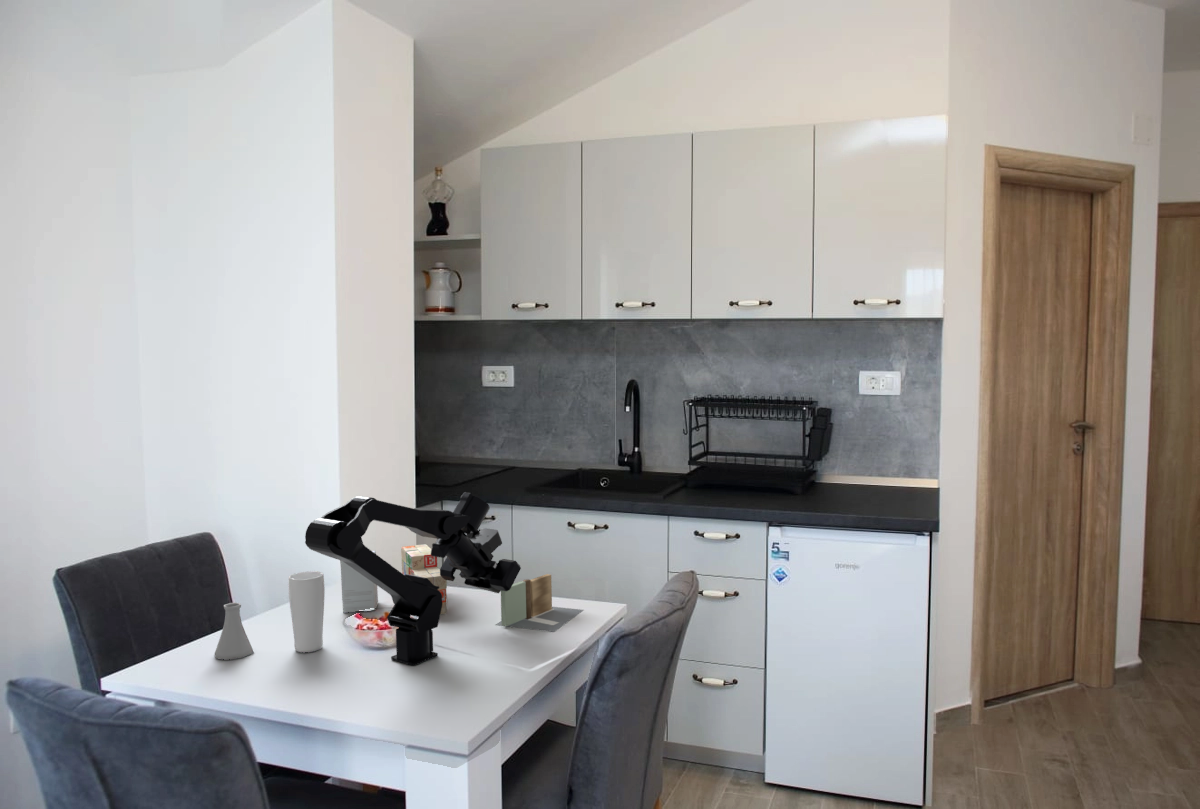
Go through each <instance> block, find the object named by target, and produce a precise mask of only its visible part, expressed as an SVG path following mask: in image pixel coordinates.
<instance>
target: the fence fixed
mask: <svg viewBox="0 0 1200 809" xmlns="http://www.w3.org/2000/svg"><path fill="white" fill-rule="evenodd" d="M523 582H526V618H525V619H531V616H532V617H534V616H536V615H539V614H541V613H544V612H546V611H549V610H551V609H552V607H553V598H552V597H553V594H552V592H553V591H552V574H549V573H546V574H543V575H541V576H537V577H535V578H531V579H529V578H527V579H523Z"/></svg>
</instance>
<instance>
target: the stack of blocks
mask: <svg viewBox="0 0 1200 809" xmlns="http://www.w3.org/2000/svg"><path fill="white" fill-rule="evenodd" d="M431 550H432V548H431V547H429V545H427V544H425V543H424V544H414V545H407V546H400V554H401V555H400V556H401V571H402V572H401V573H402V574H403V575H405V574H409V575H414V576H419V577H424V578H427V579H428V580H430V582H431V583H432V584H433V585H435V586H439V589H438V591H440V593H441V594H442V596H443V597H442V609H441V613H440V615H447V614H448V613H447V603H448V601H447V598H448V597H447V586H448V585H447V584H448V583H447V582H448V580H444V579H443V578H442V577H441V576H440V568H441V567H440V568H439V567H438V557H435V556H431Z"/></svg>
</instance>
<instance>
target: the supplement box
mask: <svg viewBox="0 0 1200 809" xmlns="http://www.w3.org/2000/svg"><path fill="white" fill-rule="evenodd" d="M371 551H372V552H374V553H375V554H376V553H377V552H376V550H371ZM376 555H377V554H376ZM339 561H340V577H341V578H340V579H341V580H340V581H341V600H342V613H343V614H347V613H348V612H349V613H356V612H355V611H359V610H365V609H370V608H377V606H378V604H379V594H378V592H379V591H378V586H377V585H376V584H374V583H373V582H372V581H370V580H369V579H367V578H366V577H364V576H363V575H362V574H360V573H359V572H357V571H356V570H354V569H353V568H352V567H350V566H349V565H347V564H346V563H344V562H343V561H341V560H339ZM352 611H353V612H352Z"/></svg>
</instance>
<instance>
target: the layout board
mask: <svg viewBox="0 0 1200 809" xmlns="http://www.w3.org/2000/svg"><path fill="white" fill-rule="evenodd" d="M583 611H584V609H580V608H579V609H578V608H569V607H558V606H552V609H551V610H549V611H546V612H544V613H541V614H539V615H536V616H534V617H532V616H531V619H523V620H520V621H518V622H515V623H513V624H510V625H508V626H505V627H506V628H507V627H508V628H517V629H525V630H535V631H541V632H543V631H544V632H552V633H555V632H556V631H557V630H559V629H561V628H562V627H563V626H565V624H568V622H570V621H571V620H573V619H574V618H575V617H577V616H578V615H579V614H580V613H582V612H583ZM495 626H496V627H497V626H499V627H503V626H502V624H501V621H499V622H497V623H496V624H495Z"/></svg>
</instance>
